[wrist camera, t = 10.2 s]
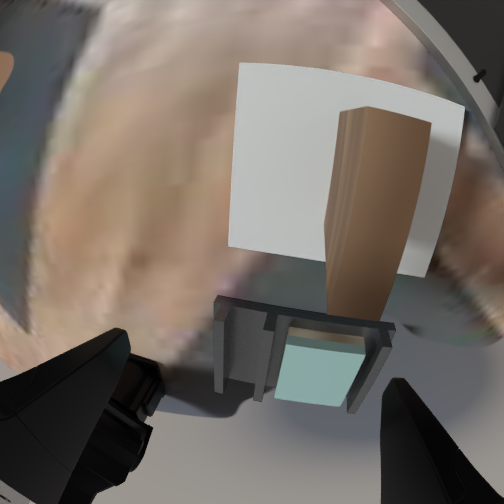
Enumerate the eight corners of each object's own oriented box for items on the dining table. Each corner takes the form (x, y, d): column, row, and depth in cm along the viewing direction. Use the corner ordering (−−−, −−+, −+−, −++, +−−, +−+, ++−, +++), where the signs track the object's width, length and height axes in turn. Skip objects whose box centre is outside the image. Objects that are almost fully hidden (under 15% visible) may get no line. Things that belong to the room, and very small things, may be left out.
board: (232, 240, 21) (228, 246, 20) (243, 65, 15) (239, 62, 15) (420, 270, 19) (424, 277, 18) (458, 106, 13) (464, 106, 12)
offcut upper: (275, 389, 24) (274, 398, 23) (287, 335, 21) (286, 344, 20) (339, 398, 24) (339, 406, 23) (364, 345, 20) (365, 355, 19)
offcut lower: (277, 381, 25) (275, 389, 24) (288, 326, 22) (287, 335, 21) (339, 389, 24) (339, 398, 24) (363, 337, 21) (364, 345, 20)
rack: (217, 367, 27) (208, 390, 25) (217, 295, 23) (205, 318, 21) (360, 390, 25) (361, 414, 23) (393, 322, 21) (400, 348, 19)
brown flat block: (323, 224, 18) (327, 314, 10) (339, 111, 15) (367, 105, 7) (354, 229, 18) (378, 321, 10) (373, 118, 14) (431, 122, 7)
